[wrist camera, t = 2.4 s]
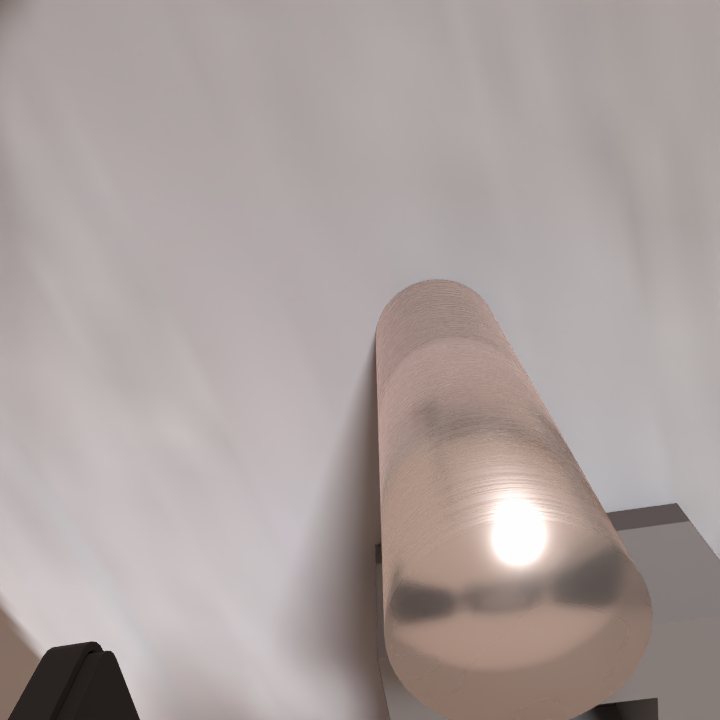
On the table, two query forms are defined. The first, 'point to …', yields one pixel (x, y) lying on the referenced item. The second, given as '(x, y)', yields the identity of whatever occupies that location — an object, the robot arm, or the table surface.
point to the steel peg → (491, 528)
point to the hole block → (668, 636)
